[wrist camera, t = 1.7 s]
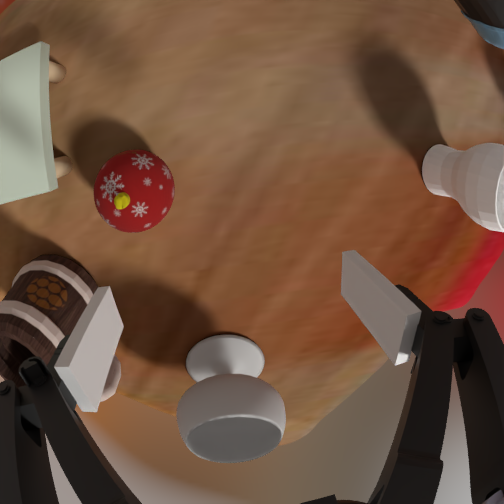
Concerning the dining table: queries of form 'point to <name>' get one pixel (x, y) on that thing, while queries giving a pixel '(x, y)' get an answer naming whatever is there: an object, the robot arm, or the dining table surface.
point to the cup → (469, 180)
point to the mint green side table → (28, 124)
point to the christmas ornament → (134, 191)
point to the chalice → (229, 402)
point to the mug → (45, 315)
